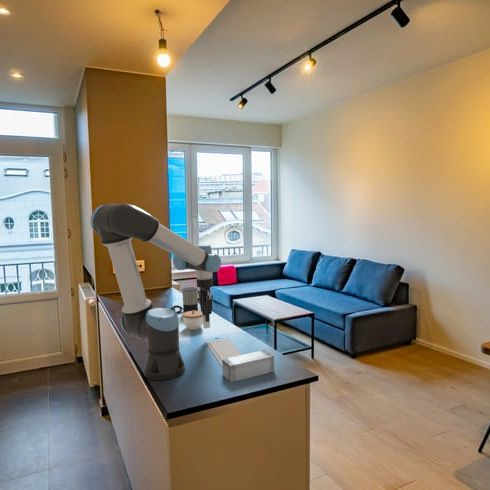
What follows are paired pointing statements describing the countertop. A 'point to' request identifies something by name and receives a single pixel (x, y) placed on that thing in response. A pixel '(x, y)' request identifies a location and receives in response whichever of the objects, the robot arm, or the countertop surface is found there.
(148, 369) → the robot arm
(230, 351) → the baseboard
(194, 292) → the milk frother
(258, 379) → the countertop surface
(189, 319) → the lidded jar
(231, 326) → the countertop surface
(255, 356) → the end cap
